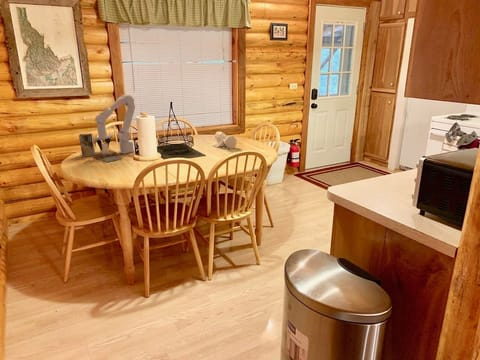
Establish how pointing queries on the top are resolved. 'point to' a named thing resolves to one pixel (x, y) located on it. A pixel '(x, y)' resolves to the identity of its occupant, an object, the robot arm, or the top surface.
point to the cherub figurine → (224, 140)
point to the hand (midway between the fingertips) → (104, 149)
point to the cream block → (104, 148)
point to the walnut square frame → (106, 155)
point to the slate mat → (111, 159)
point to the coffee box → (87, 144)
